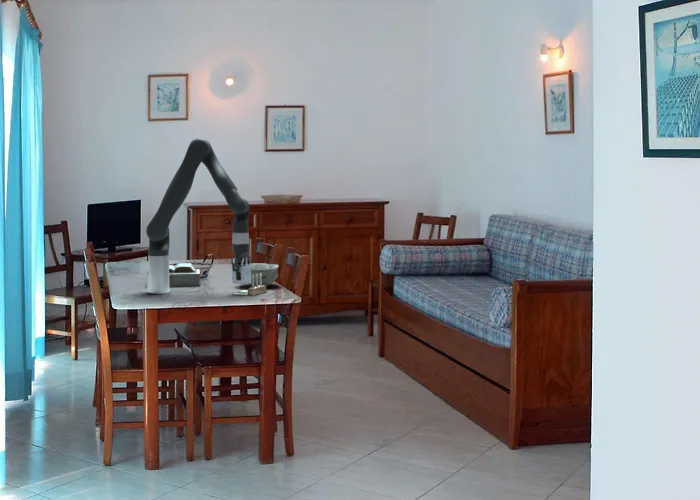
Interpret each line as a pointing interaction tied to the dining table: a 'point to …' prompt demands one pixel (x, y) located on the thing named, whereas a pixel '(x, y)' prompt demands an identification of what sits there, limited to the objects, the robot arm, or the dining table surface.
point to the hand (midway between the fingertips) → (241, 279)
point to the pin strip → (256, 289)
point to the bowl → (264, 273)
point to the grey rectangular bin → (183, 275)
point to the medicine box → (243, 275)
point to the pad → (241, 292)
